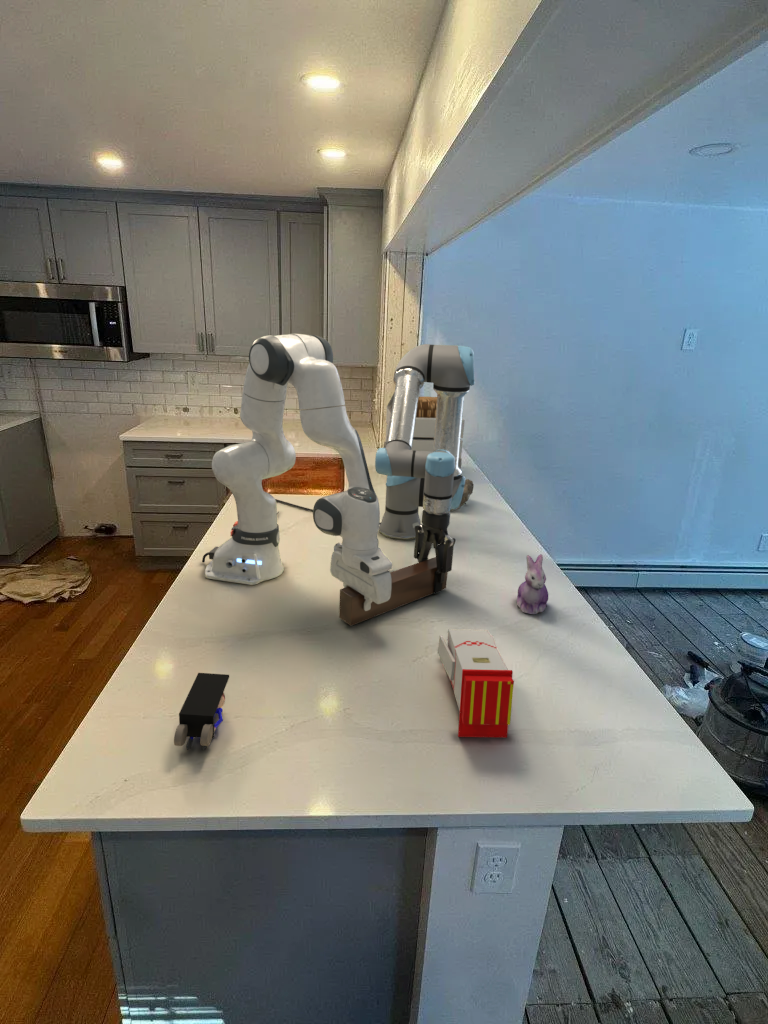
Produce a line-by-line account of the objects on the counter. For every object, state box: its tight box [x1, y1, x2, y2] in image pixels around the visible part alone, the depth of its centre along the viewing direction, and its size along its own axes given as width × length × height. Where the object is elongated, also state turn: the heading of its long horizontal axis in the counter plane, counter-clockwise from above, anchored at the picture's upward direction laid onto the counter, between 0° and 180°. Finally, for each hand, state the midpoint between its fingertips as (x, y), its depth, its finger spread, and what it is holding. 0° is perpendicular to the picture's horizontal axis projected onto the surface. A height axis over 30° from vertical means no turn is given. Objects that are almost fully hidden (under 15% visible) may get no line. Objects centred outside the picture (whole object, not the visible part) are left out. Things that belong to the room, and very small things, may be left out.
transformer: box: [383, 393, 465, 470], centre depth 268 cm, size 34×33×41 cm
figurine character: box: [173, 672, 230, 751], centre depth 104 cm, size 7×8×15 cm
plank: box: [338, 556, 449, 626], centre depth 151 cm, size 5×34×8 cm, turn 131°
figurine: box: [516, 553, 549, 615], centre depth 151 cm, size 9×10×15 cm
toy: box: [437, 628, 515, 738], centre depth 117 cm, size 12×13×30 cm
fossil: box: [450, 478, 475, 512], centre depth 232 cm, size 22×10×15 cm
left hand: (358, 604), depth 143 cm, fingers closed on plank, 5 cm apart
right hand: (430, 587), depth 160 cm, fingers closed on plank, 5 cm apart
